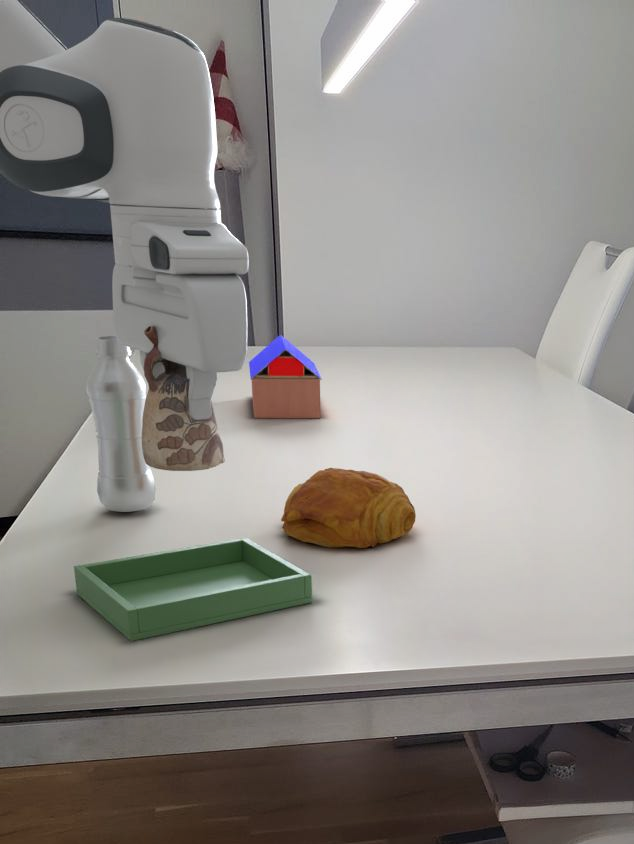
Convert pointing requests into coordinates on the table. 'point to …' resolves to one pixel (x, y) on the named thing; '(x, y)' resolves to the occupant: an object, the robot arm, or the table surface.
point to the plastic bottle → (119, 428)
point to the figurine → (175, 420)
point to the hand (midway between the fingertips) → (180, 410)
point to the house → (284, 382)
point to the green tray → (191, 587)
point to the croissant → (347, 509)
